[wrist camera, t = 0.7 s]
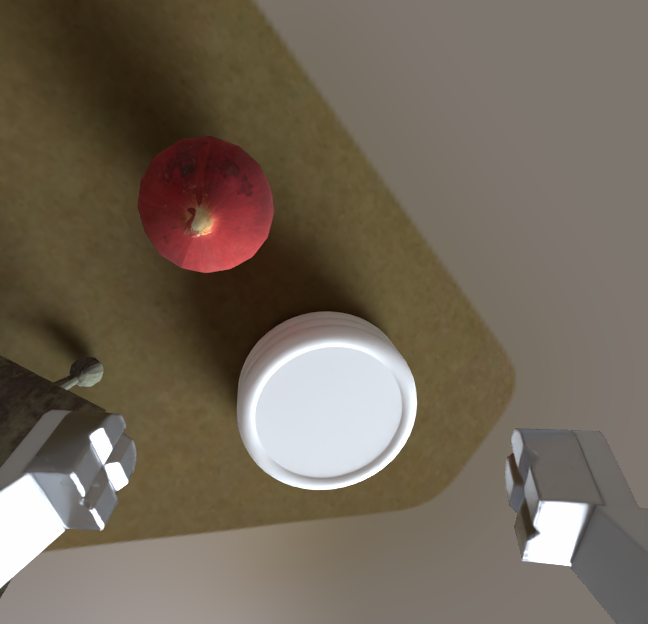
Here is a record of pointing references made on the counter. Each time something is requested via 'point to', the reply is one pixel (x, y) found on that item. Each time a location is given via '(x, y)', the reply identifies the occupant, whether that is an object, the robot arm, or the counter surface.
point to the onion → (205, 204)
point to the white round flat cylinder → (325, 401)
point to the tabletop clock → (38, 401)
